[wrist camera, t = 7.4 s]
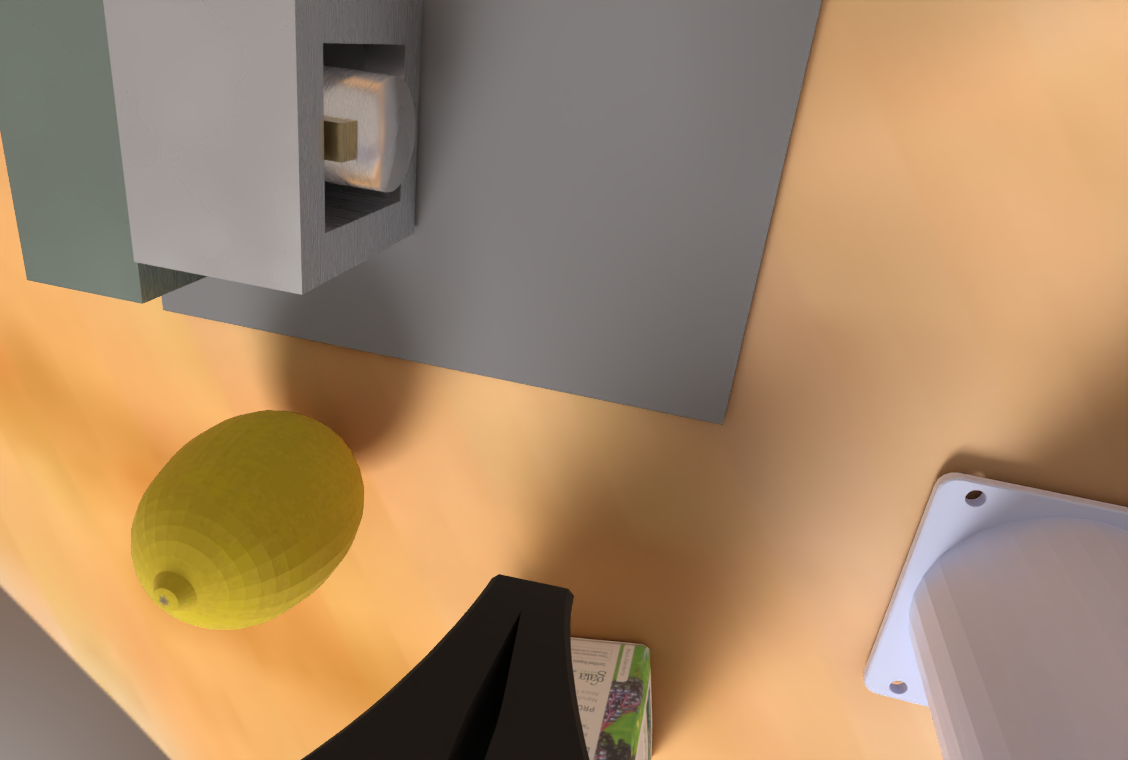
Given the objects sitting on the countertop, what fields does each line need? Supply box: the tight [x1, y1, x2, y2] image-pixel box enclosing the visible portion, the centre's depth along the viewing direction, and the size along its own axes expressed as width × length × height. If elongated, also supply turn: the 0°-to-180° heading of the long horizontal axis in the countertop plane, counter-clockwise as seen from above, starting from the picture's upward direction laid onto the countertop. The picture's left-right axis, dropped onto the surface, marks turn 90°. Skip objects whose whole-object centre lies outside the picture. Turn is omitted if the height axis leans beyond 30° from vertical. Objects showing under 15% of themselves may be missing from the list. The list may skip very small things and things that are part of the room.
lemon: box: [131, 410, 364, 630], centre depth 22 cm, size 6×6×8 cm
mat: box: [162, 0, 822, 425], centre depth 21 cm, size 18×14×1 cm
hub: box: [103, 0, 423, 295], centre depth 18 cm, size 4×6×6 cm, turn 173°
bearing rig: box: [0, 0, 415, 304], centre depth 18 cm, size 8×8×6 cm
